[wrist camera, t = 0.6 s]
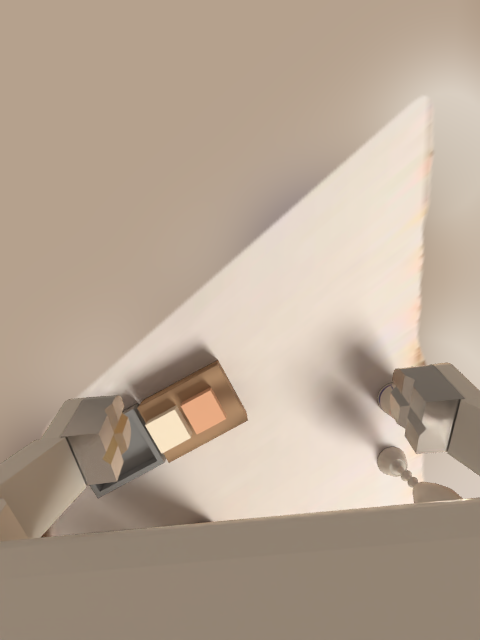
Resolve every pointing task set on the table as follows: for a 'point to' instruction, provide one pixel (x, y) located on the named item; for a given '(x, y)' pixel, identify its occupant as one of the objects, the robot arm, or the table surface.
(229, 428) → the walnut board
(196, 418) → the peach rectangular prism
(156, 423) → the cream block
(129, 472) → the charcoal tray
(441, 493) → the chalice
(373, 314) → the table surface
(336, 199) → the table surface
